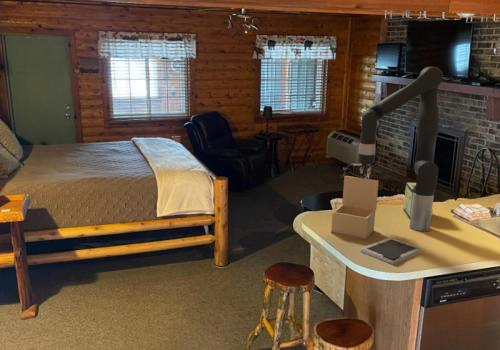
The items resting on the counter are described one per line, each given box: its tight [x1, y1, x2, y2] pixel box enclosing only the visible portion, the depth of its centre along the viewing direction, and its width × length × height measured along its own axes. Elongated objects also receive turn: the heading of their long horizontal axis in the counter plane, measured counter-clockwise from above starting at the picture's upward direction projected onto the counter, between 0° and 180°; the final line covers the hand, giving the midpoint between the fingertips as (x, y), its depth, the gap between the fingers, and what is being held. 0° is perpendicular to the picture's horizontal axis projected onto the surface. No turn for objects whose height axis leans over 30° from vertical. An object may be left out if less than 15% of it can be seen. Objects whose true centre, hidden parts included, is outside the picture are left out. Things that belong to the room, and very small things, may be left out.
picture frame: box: [360, 237, 423, 265], centre depth 199 cm, size 16×3×21 cm
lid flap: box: [341, 175, 380, 210], centre depth 226 cm, size 16×14×7 cm
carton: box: [330, 204, 377, 241], centre depth 220 cm, size 16×14×10 cm
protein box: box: [403, 181, 416, 220], centre depth 245 cm, size 10×16×16 cm
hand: (363, 187), depth 228 cm, fingers open, 4 cm apart
